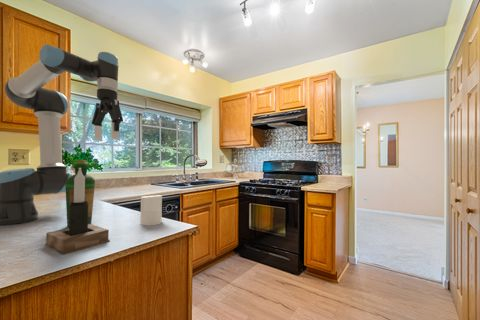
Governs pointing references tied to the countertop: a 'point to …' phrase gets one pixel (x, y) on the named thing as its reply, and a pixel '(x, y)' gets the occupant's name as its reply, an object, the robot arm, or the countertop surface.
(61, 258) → the countertop surface
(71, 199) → the bottle
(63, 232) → the walnut holder
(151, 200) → the white upright cylinder
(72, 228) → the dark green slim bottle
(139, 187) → the countertop surface
